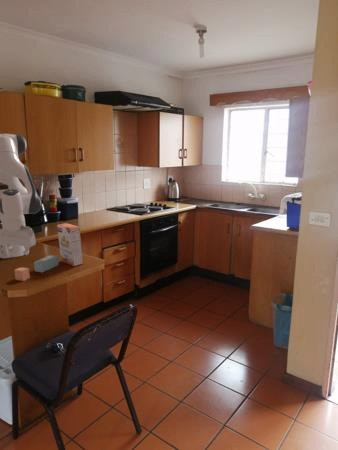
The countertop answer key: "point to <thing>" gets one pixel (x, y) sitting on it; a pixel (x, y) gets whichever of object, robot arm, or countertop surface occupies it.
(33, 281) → the countertop surface
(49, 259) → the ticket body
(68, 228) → the cracker box
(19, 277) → the block
